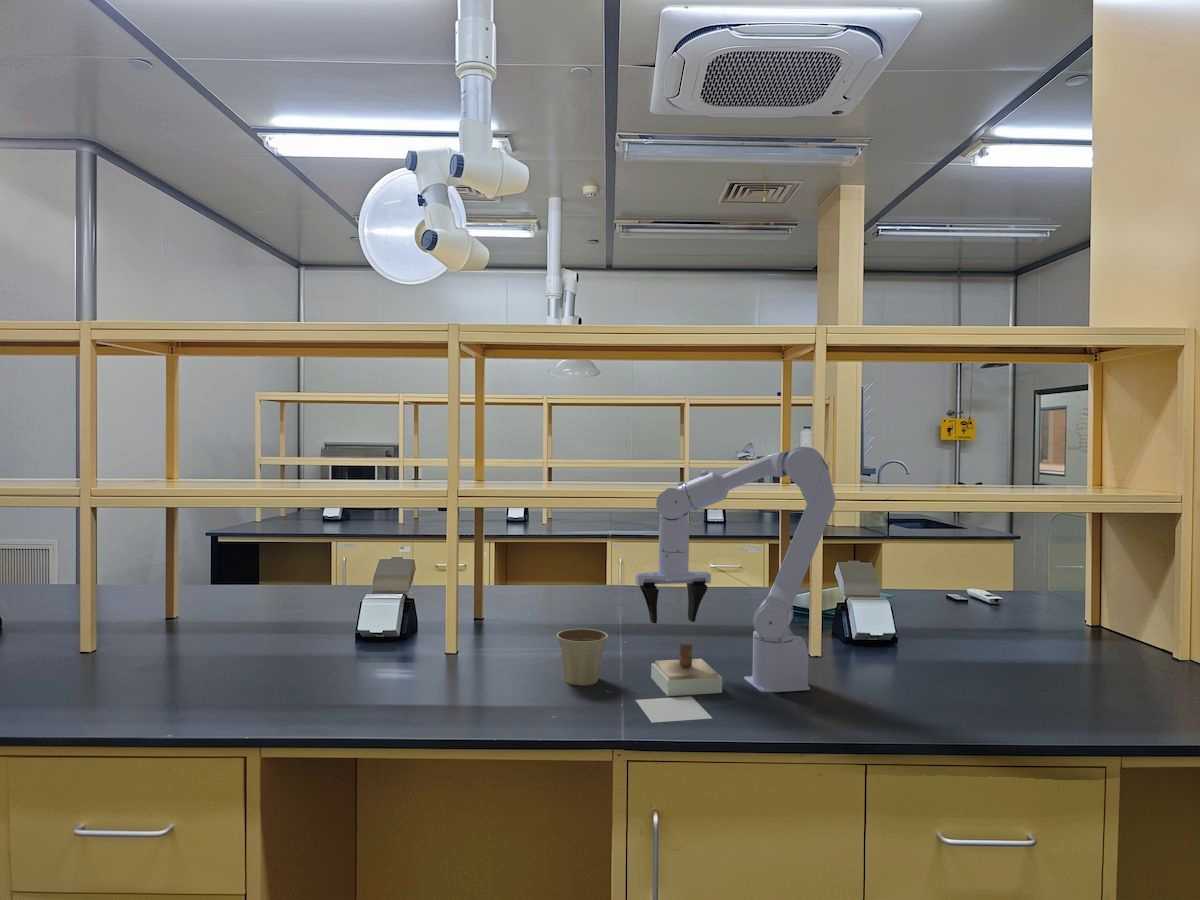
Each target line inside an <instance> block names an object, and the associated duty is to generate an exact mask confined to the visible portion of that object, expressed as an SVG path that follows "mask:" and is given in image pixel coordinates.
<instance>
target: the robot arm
mask: <svg viewBox="0 0 1200 900" xmlns="http://www.w3.org/2000/svg"><path fill="white" fill-rule="evenodd" d="M787 476H788V477H789V479H790V480H792V482H793V483H795V485H796V486H797V487H798V488H799V490H800V492H801V494H802V496H803V498H804V501H805V502H806V506H805V509H804V510H803V513H802V515H801V517H800V520H799V522H798V525H797V527H796V530H795V532H794V534H793V537H792V539H791V542H790V543H789V546H788V549H787V551H786V554H785V555H784V558H783V560H782V563H781V566H780V567H779V570H778V572H777V575H776V576H775V579H774V582H773V585H772V587H771V589H770V591H769V593H768V595H767V596H766V598H764V599H763V600H762V601H761V602H760V604H759V607H758V608H757V609H756V610H755V612H754V614H753V618H752V625H753V626H752V627H753V629H754V630H753V632H752V675H748V676H747V675H746V676H744V677H743V679H744V680H745V681H746V682H747V683H749V684H750V685H752V686H753V687H754V688H755V689H756V690H758V691H760V693H782V692H783V693H784V692H785V693H786V692H787V693H788V692H798V691H799V692H801V691H811V686H809V650H808V646H807V643H806V641H805V639H804V638H803V637H802V636H800V635H795V634H794V633H793V632H792V630H791V629H790V624H791V622H792V621H793V617H794V609H793V606H794V602H795V600H796V598H797V595H798V592H799V590H800V587H801V585H802V583H803V581H804V578H805V576H806V574H807V572H808V569H809V567H810V565H811V562H812V560H813V558H814V555H815V552H816V550H817V548H818V546H819V543H820V541H821V538H822V536H823V534H824V532H825V529H826V527H827V524H828V522H829V520H830V518H831V515H832V513H833V510H834V508H835V506H836V503H837V502H836V495H835V491H834V486H833V483H832V478H831V473H830V469H829V465H828V464H827V462H826V461H825V459H824V458H823V456H822V455H821V453H820V452H819V451H818V450H816V448H813V447H811V446H810V447H809V446H797V447H794V448H792V449H791V450H784V451H779V452H776V453H772V454H769V455H765V456H763V457H761V458H759V459H755V460H753V461H752V462H750V463H747V464H745V465H743V466H740V467H739V468H736V469H733V470H731V471H729V472H727V473H724V474H721V473H719V472H717V471H711V472H709V471H708V470H705V471H702V472H700V476H699V477H695V478H694V479H691V480H688V481H686V482H685V481H684V480H683V481H680V482H677V486H678V487H668V488H666V489H665V490H663V491H661V493H660V494H659V495H658V496H657V499H656V503H655V504H656V506H655V507H656V509H657V512H658V513H659V527H658V571H652V572H650V571H649V572H642V573H641V572H640V573H637V572H636V573H635V584H636V585H637V586H639V587H640V591H641V592H642V594H643V597H644V600H645V602H646V605H647V606H646V607H647V609H648V615H649V620H650V621H649V622H651V623H652V624H658V623H657V622H658V600H659V599H658V598H659V597H658V596H659V591H660V590H659V589H658V588H657V585H669V584H671V585H674V584H675V585H676V584H686V588H687V598H688V600H687V601H688V602H687V603H688V604H687V605H688V607H687V620H688V621H690V622H691V623H695V622H696V618H697V614H698V610H699V608H700V604H701V602H702V600H703V598H704V596H705V594H706V593H707V591H708V585H707V584H711V583H712V582H711V581H712V578H711V577H712V573H710V572H709V571H690V570H689V563H690V560H689V559H690V558H689V556H690V555H689V553H690V546H689V545H690V526H689V520H690V519H689V516H690V515H689V514H690V512H692V511H693V512H696V511H699V510H702V509H704V508H707V507H709V506H712V505H714V504H717V503H719V502H723V501H725V500H726V499H727V496H728V494H729V491H730V490H733V489H735V488H738V487H741V486H744V485H747V484H749V483H752V482H755V481H757V480H759V479H760V480H761V479H763V478H765V477H777V478H785V477H787Z"/></svg>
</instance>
